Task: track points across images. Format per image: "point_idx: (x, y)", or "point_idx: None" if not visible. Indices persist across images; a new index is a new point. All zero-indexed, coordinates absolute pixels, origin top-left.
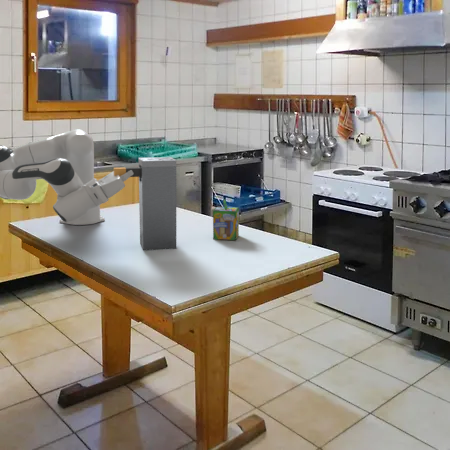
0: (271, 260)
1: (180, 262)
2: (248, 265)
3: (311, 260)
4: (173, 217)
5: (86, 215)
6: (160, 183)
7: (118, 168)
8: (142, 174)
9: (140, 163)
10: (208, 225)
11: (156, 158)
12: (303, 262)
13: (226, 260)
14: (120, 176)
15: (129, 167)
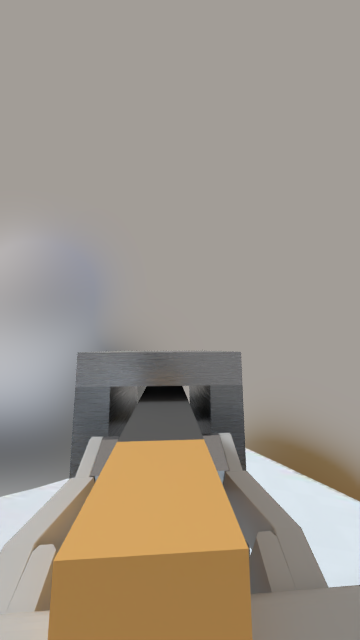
0: (270, 482)
1: None
2: (312, 511)
3: (257, 454)
4: None
5: None
6: None
7: (200, 486)
8: (243, 429)
9: (175, 374)
10: (4, 527)
11: (142, 351)
12: (268, 460)
13: None
14: (319, 580)
15: (134, 425)
